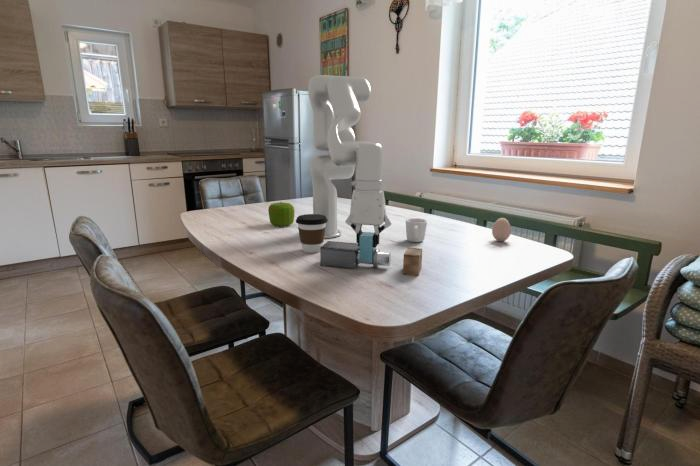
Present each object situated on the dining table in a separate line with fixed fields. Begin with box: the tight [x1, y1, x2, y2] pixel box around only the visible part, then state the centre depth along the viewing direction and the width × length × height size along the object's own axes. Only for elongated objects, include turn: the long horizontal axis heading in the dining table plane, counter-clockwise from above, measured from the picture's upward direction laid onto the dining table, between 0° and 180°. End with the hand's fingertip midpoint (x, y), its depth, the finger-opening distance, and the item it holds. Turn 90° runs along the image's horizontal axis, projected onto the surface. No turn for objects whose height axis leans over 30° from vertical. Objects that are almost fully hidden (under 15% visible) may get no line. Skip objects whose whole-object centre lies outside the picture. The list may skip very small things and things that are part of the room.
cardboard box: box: [402, 247, 423, 277], centre depth 119 cm, size 4×8×6 cm, turn 164°
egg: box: [491, 217, 512, 243], centre depth 151 cm, size 7×7×9 cm
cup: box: [405, 217, 428, 243], centre depth 150 cm, size 11×8×8 cm
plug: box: [356, 231, 392, 268], centre depth 123 cm, size 19×6×10 cm, turn 74°
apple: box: [267, 201, 295, 228], centre depth 175 cm, size 11×11×11 cm
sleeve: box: [319, 240, 361, 270], centre depth 125 cm, size 11×8×6 cm
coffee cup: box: [295, 213, 328, 254], centre depth 138 cm, size 11×11×12 cm
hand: (367, 245), depth 122 cm, fingers closed on plug, 4 cm apart
